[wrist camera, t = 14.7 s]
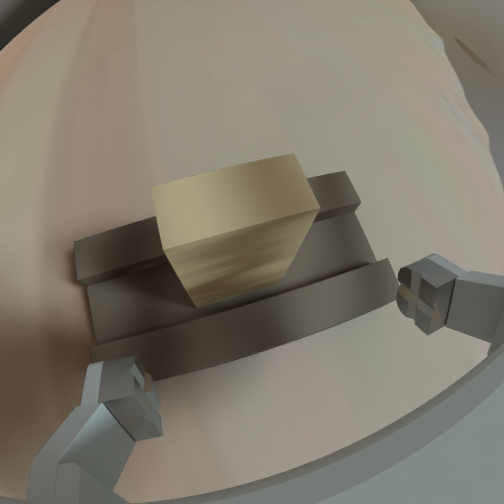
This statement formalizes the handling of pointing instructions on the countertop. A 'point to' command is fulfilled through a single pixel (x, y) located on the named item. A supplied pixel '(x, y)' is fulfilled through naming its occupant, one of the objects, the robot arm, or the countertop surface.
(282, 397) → the countertop surface
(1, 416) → the countertop surface
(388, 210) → the countertop surface
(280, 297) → the bridge
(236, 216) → the wooden block
